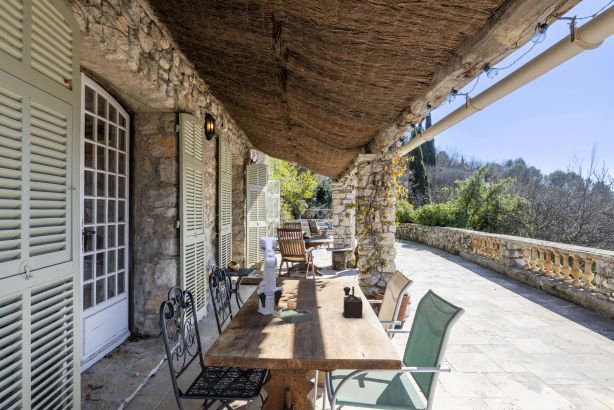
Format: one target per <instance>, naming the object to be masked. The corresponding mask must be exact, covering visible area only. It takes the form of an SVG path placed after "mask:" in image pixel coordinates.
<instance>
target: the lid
mask: <svg viewBox="0 0 614 410" xmlns="http://www.w3.org/2000/svg"><path fill="white" fill-rule="evenodd" d="M294 315H298V313H297V312H295V311H293V310H290V311H284V312H282V311H280V312H279V311H277V310H275V309H274V310H273V313H272V316H273V317H275V318H278V319H281V318H283V317H289V316H294Z"/></svg>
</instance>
